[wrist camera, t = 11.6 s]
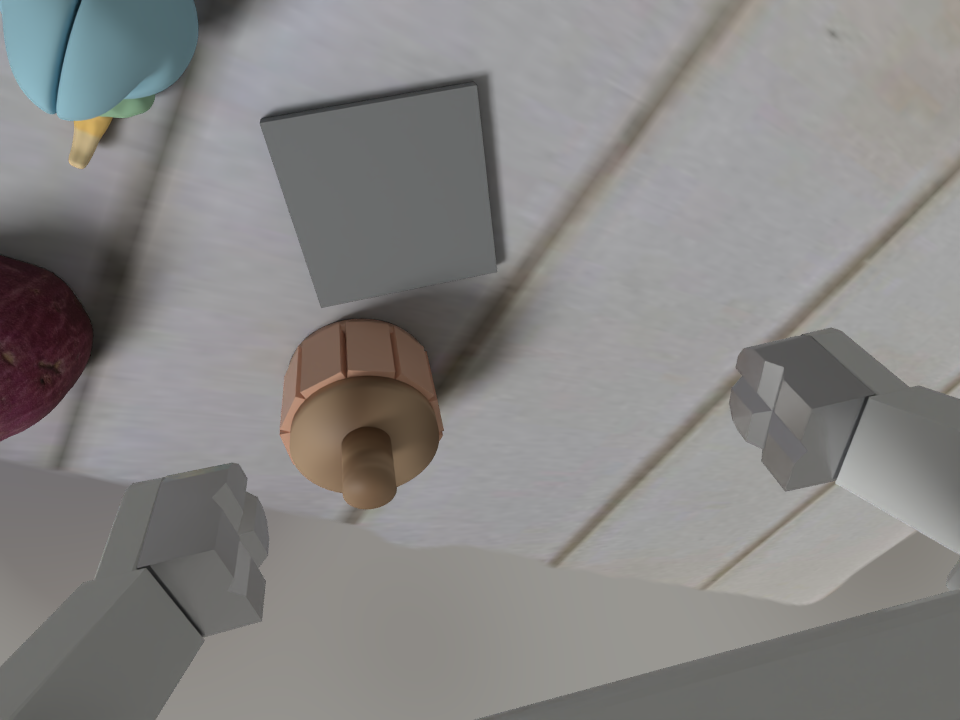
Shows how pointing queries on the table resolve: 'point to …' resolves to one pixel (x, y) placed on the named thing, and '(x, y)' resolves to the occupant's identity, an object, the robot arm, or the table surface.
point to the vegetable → (37, 343)
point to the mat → (387, 192)
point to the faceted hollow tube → (354, 363)
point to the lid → (364, 438)
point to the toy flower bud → (97, 58)
